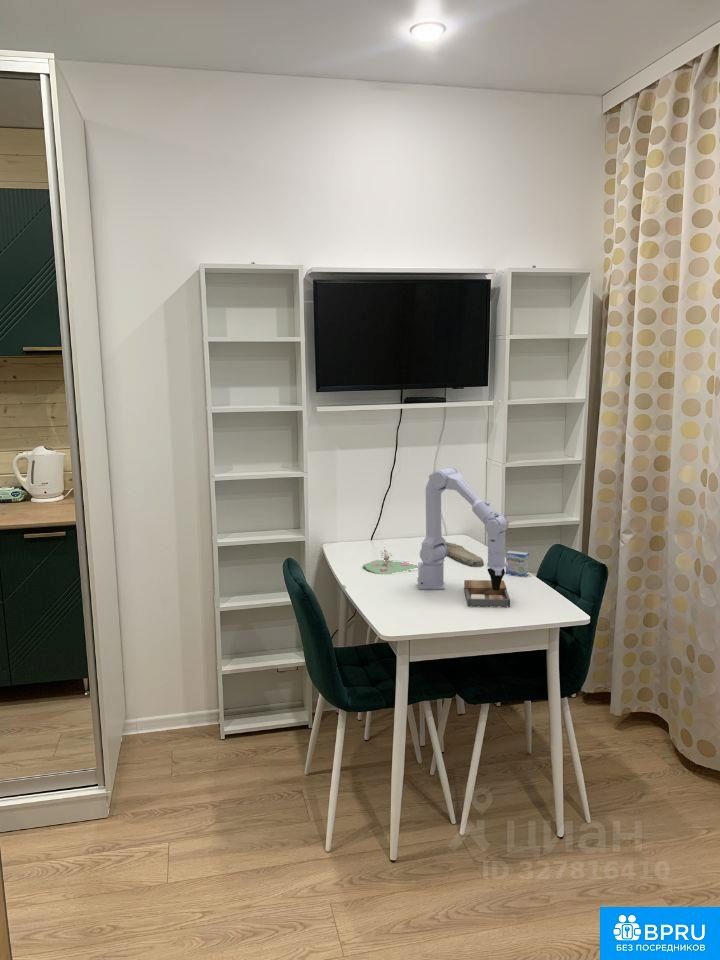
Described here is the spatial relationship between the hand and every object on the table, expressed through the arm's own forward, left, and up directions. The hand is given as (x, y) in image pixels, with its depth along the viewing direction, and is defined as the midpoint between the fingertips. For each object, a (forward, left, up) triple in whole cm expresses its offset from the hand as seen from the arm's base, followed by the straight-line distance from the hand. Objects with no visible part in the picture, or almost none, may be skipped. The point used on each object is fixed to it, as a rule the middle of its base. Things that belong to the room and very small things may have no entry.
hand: (495, 589), depth 255 cm
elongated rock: (-10, +56, -4) cm, 57 cm away
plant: (-36, +39, -4) cm, 54 cm away
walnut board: (-3, +8, -3) cm, 9 cm away
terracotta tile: (0, -4, -1) cm, 4 cm away
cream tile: (-6, -4, -1) cm, 7 cm away
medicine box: (+11, +30, -4) cm, 33 cm away
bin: (-3, -2, -3) cm, 5 cm away
